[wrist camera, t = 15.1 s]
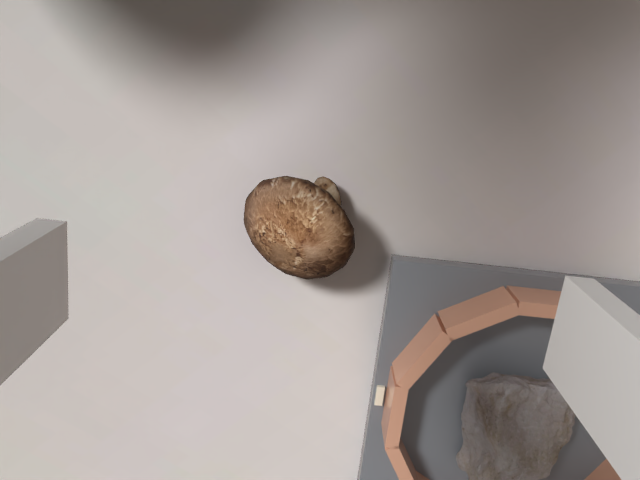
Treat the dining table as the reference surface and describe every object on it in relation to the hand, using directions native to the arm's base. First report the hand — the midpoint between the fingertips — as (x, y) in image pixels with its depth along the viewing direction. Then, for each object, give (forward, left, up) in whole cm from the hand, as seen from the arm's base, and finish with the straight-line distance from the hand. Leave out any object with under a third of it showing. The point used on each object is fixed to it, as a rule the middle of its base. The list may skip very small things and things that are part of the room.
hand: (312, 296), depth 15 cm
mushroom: (+5, -1, -27) cm, 27 cm away
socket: (+18, +17, -27) cm, 36 cm away
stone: (+18, +16, -26) cm, 35 cm away
